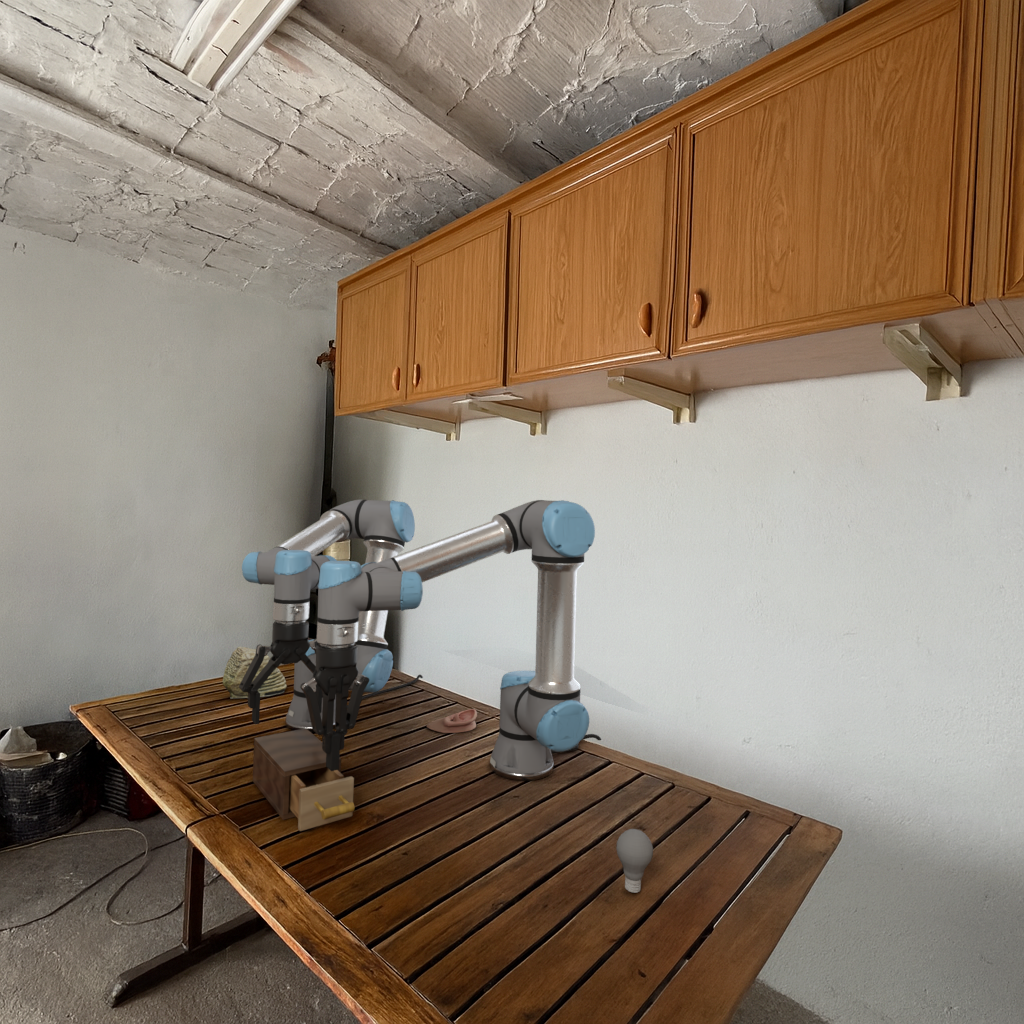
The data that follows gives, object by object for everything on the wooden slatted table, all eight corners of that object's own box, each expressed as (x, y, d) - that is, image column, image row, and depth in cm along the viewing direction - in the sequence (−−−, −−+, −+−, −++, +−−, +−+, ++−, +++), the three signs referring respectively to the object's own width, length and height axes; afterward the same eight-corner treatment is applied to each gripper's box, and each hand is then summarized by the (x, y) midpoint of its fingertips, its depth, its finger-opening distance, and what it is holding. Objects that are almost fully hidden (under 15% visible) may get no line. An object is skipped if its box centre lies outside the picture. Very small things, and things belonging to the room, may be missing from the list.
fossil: (218, 695, 195) (220, 647, 195) (278, 685, 208) (279, 640, 207) (228, 703, 189) (230, 653, 188) (289, 692, 201) (290, 645, 201)
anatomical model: (423, 716, 174) (436, 703, 185) (422, 730, 174) (436, 716, 185) (470, 721, 171) (480, 708, 182) (469, 736, 171) (480, 722, 182)
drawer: (365, 828, 120) (366, 789, 120) (311, 845, 113) (312, 803, 113) (316, 780, 139) (318, 746, 139) (268, 791, 133) (269, 756, 133)
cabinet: (339, 804, 131) (341, 758, 131) (282, 820, 124) (284, 771, 123) (304, 769, 147) (306, 728, 146) (252, 781, 140) (254, 737, 139)
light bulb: (610, 879, 108) (613, 822, 108) (644, 879, 109) (647, 822, 109) (619, 902, 102) (622, 840, 102) (655, 901, 103) (658, 840, 103)
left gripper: (235, 629, 129) (232, 732, 129) (351, 619, 144) (347, 711, 144) (226, 622, 135) (222, 721, 135) (338, 613, 150) (334, 702, 150)
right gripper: (310, 651, 112) (305, 783, 113) (377, 643, 120) (373, 767, 121) (295, 643, 118) (291, 768, 118) (361, 636, 126) (356, 753, 127)
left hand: (287, 716), depth 140 cm, fingers open, 13 cm apart
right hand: (332, 767), depth 120 cm, fingers closed
